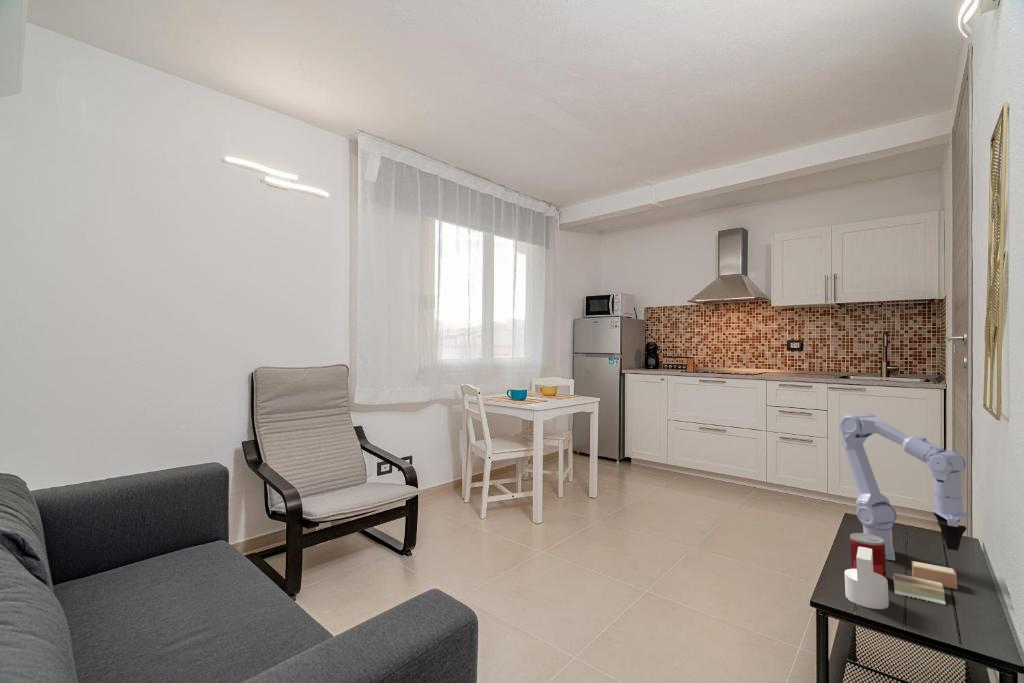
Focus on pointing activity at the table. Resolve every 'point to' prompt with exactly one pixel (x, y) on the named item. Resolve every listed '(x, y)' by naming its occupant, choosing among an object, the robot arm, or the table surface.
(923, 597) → the mat
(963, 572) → the table surface
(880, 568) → the canned food
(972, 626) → the table surface
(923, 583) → the beige block
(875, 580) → the cylinder with rectangular tab
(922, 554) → the table surface
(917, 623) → the table surface
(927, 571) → the brown and cream block
